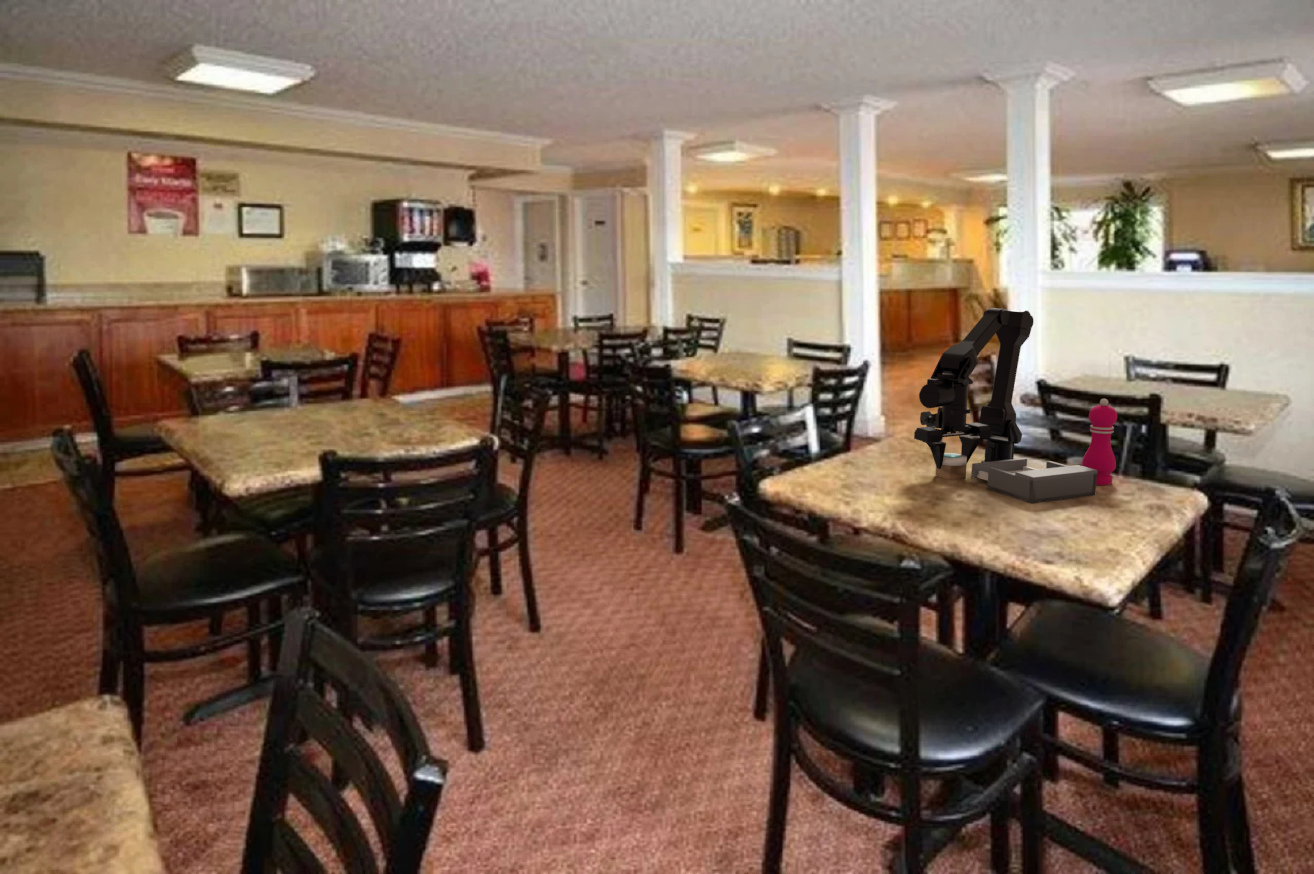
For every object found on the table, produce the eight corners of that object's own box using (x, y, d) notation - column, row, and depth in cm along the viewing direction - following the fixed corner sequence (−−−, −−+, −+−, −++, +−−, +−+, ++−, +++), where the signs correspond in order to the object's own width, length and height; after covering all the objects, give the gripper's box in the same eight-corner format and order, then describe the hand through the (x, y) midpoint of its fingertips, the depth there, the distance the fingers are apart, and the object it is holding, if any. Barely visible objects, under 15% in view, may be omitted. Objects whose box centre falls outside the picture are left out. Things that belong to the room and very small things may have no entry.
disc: (953, 458, 228) (954, 451, 228) (972, 464, 221) (973, 457, 221) (930, 460, 225) (930, 454, 225) (948, 466, 219) (949, 459, 219)
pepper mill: (1087, 477, 222) (1094, 395, 219) (1118, 482, 217) (1126, 398, 214) (1075, 482, 217) (1082, 398, 214) (1107, 487, 212) (1115, 402, 209)
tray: (1023, 471, 224) (1024, 458, 224) (1065, 483, 212) (1066, 469, 211) (971, 477, 219) (972, 463, 218) (1011, 490, 206) (1012, 475, 206)
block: (952, 473, 227) (953, 459, 227) (965, 477, 223) (966, 463, 222) (935, 475, 225) (936, 461, 225) (948, 479, 221) (949, 465, 220)
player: (1048, 481, 218) (1050, 457, 217) (1095, 495, 206) (1097, 469, 205) (987, 488, 212) (988, 464, 211) (1031, 503, 199) (1033, 477, 198)
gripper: (963, 397, 231) (960, 457, 234) (901, 401, 225) (899, 463, 228) (994, 403, 221) (990, 466, 224) (930, 408, 215) (927, 473, 218)
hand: (951, 467), depth 224 cm, fingers closed on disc, 7 cm apart
